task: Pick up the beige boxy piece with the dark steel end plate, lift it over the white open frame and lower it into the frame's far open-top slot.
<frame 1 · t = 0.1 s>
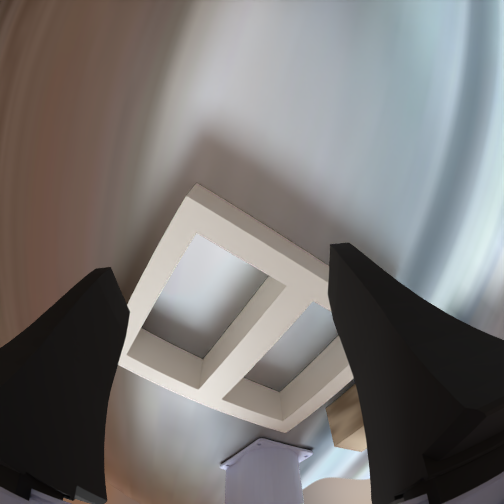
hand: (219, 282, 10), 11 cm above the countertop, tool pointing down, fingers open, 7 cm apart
beige boxy piece: (368, 387, 27), on the countertop
white open frame: (248, 321, 23), on the countertop
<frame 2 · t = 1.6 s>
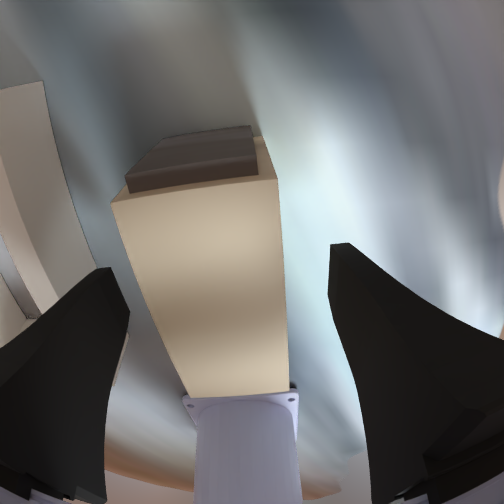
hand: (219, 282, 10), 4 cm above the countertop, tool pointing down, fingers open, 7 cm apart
beige boxy piece: (224, 234, 13), on the countertop
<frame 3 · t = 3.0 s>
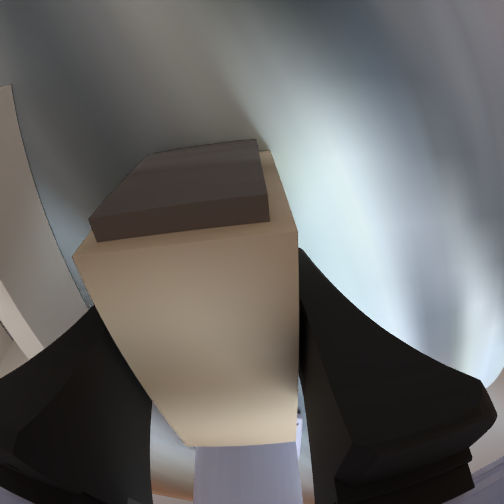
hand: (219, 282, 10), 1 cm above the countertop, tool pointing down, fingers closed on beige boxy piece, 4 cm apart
beige boxy piece: (223, 265, 11), on the countertop, touching gripper
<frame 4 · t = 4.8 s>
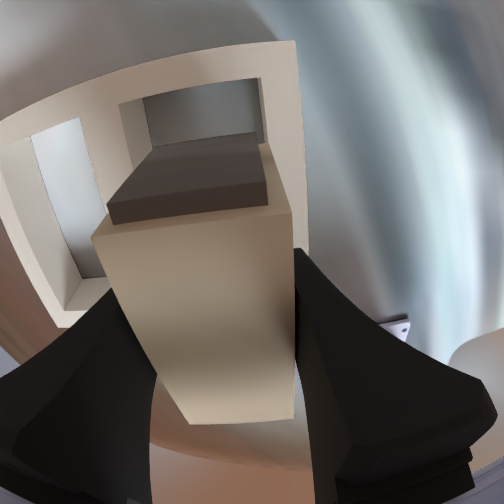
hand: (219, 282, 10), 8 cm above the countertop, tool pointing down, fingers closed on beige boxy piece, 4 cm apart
beige boxy piece: (224, 250, 12), point 6 cm above the countertop, touching gripper
white open frame: (146, 193, 17), on the countertop
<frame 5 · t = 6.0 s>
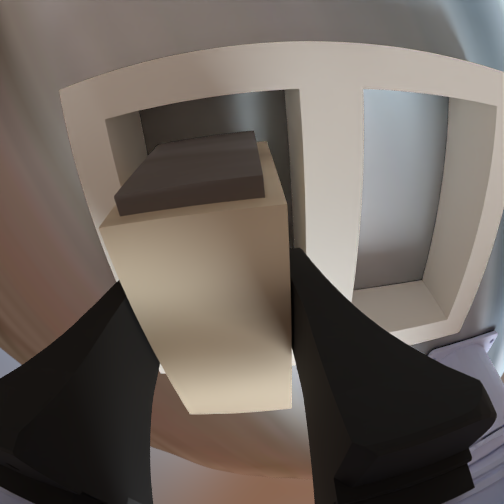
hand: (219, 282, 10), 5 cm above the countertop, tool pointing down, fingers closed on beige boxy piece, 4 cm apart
beige boxy piece: (224, 244, 12), point 2 cm above the countertop, touching gripper
white open frame: (313, 204, 14), on the countertop
when the fingers open (4 cm above the countertop, at t = 7.0 s): beige boxy piece drops 2 cm, resting in white open frame.
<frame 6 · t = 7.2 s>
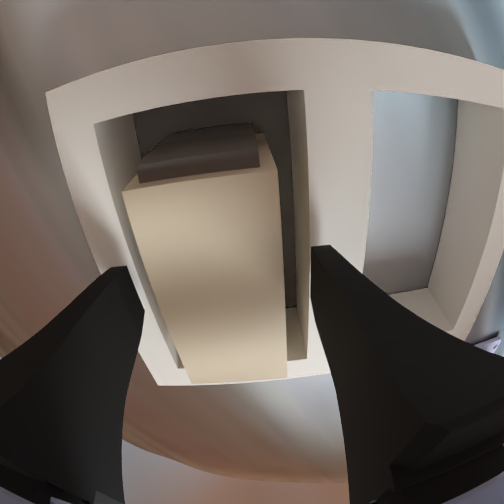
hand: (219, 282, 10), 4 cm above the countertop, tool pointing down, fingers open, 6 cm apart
beige boxy piece: (225, 226, 14), resting in white open frame
white open frame: (316, 211, 13), on the countertop
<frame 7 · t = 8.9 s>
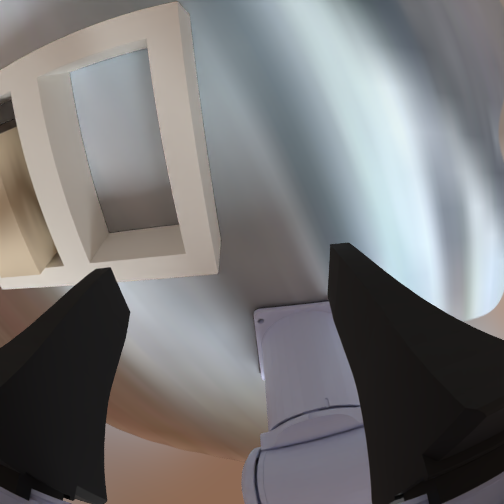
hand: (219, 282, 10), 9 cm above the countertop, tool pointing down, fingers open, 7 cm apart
beige boxy piece: (32, 179, 17), resting in white open frame
white open frame: (73, 159, 16), on the countertop
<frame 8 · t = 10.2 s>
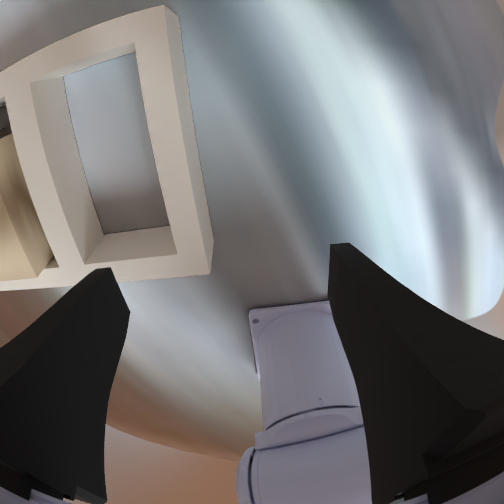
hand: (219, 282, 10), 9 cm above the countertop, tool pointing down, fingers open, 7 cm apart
beige boxy piece: (29, 184, 17), resting in white open frame
white open frame: (68, 162, 16), on the countertop
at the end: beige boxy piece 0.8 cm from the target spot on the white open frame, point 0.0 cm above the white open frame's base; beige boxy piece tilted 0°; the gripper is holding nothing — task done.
